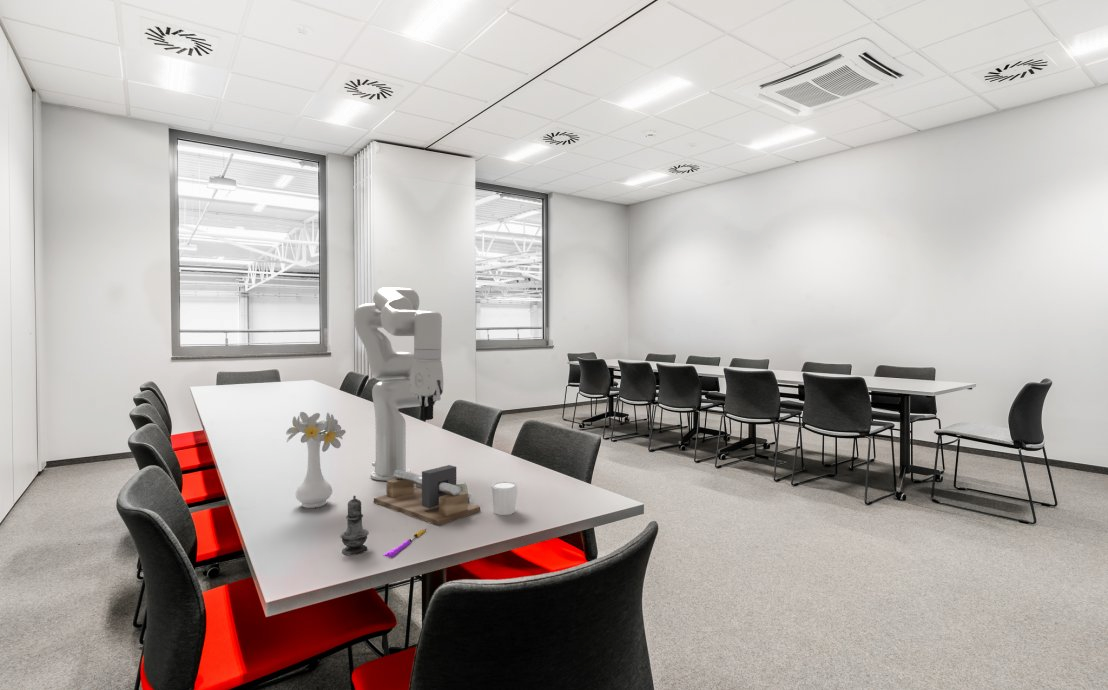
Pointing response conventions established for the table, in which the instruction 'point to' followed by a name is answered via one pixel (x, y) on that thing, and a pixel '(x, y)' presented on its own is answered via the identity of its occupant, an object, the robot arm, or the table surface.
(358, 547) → the salt shaker
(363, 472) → the table surface
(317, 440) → the flower vase
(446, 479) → the collar
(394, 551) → the purple and yellow tool
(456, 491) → the pipe
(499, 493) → the shot glass
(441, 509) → the pipe stand
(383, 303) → the robot arm
